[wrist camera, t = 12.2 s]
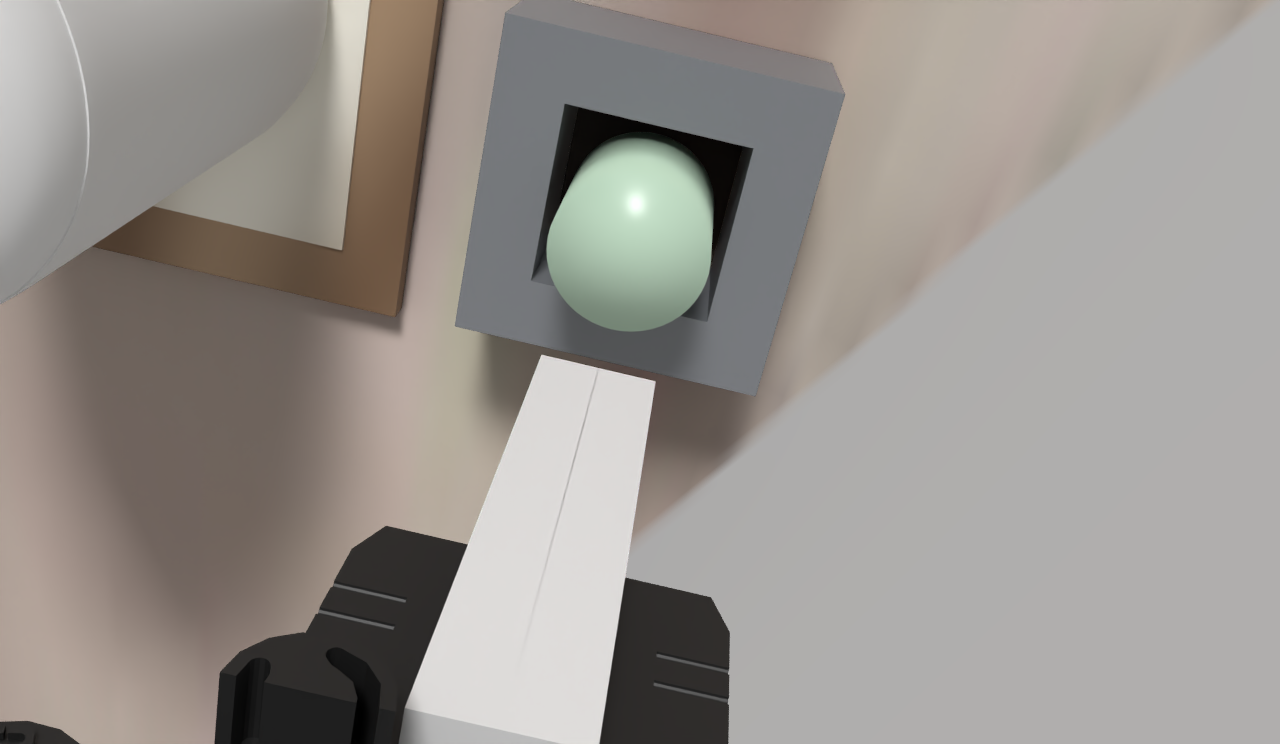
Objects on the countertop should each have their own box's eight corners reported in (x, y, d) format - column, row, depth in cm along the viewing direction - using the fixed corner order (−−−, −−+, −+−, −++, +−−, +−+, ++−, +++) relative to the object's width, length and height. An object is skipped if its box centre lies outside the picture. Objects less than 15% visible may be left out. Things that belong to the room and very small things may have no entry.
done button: (558, 253, 26) (533, 311, 23) (585, 116, 24) (563, 157, 21) (695, 285, 26) (689, 347, 23) (730, 150, 25) (728, 196, 21)
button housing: (485, 273, 29) (454, 326, 26) (533, -9, 26) (505, 12, 23) (753, 335, 29) (755, 396, 26) (832, 63, 26) (844, 93, 23)
